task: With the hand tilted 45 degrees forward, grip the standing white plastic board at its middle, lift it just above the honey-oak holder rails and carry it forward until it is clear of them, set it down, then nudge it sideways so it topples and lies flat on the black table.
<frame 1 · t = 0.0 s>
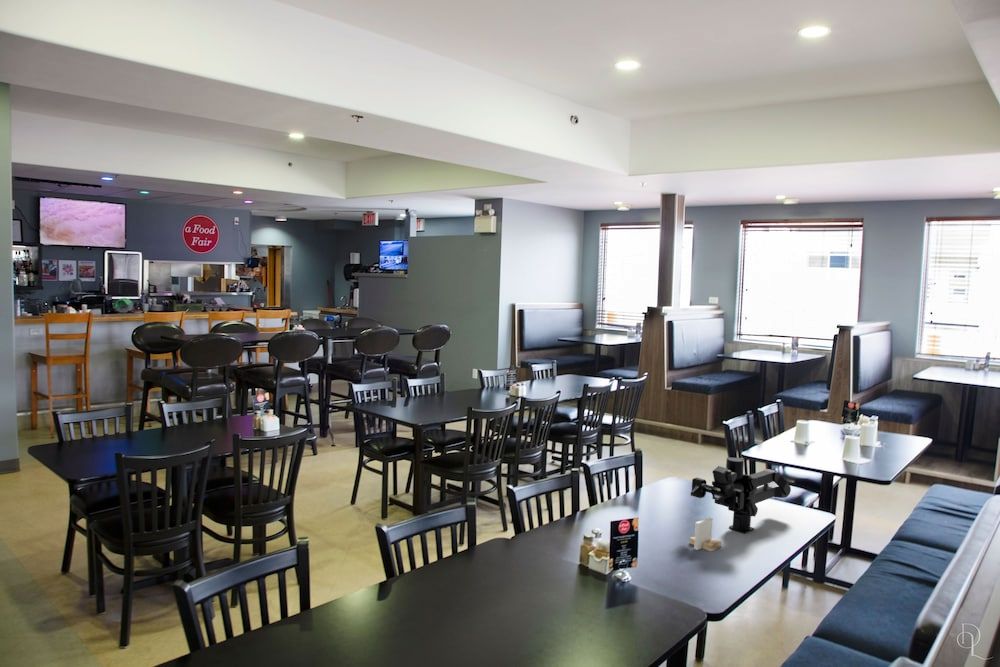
hand: (702, 497, 228), 16 cm above the table, tool horizontal, fingers open, 9 cm apart
oak holder: (705, 545, 230), on the table
white board: (702, 546, 229), on the table
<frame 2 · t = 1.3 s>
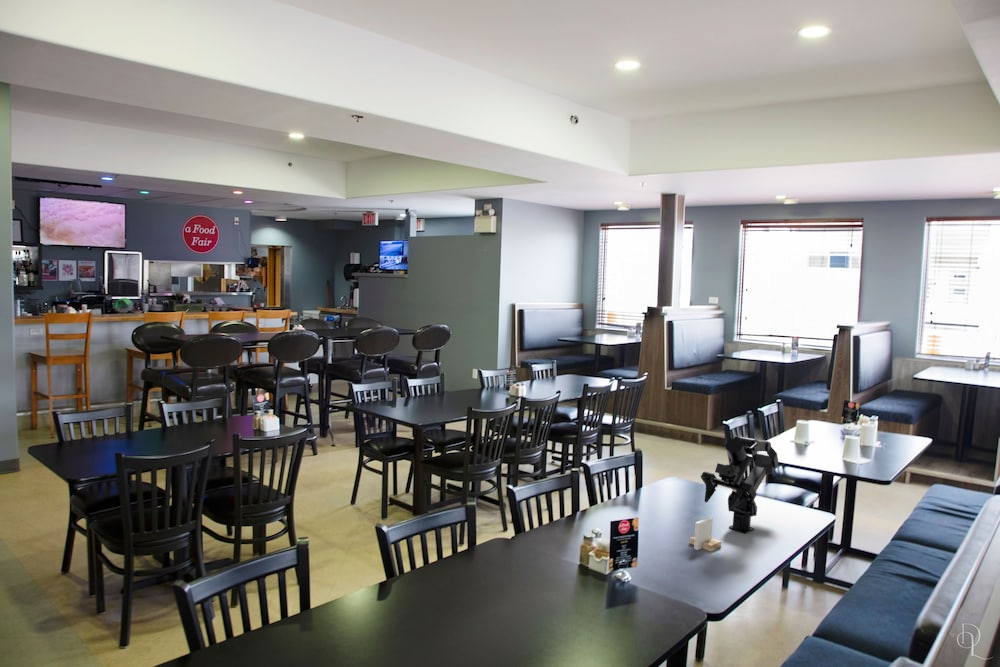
hand: (717, 505, 232), 13 cm above the table, tool tilted 45°, fingers open, 9 cm apart
nothing on the table moved.
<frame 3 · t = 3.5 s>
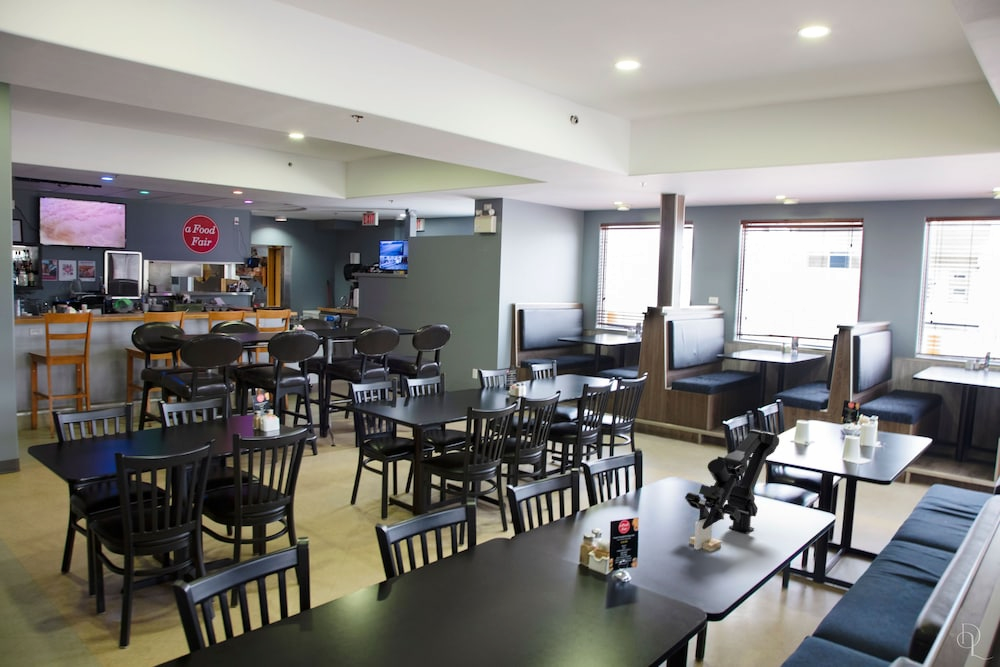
hand: (701, 527, 227), 7 cm above the table, tool tilted 45°, fingers closed on white board, 1 cm apart
white board: (702, 546, 229), on the table, touching gripper
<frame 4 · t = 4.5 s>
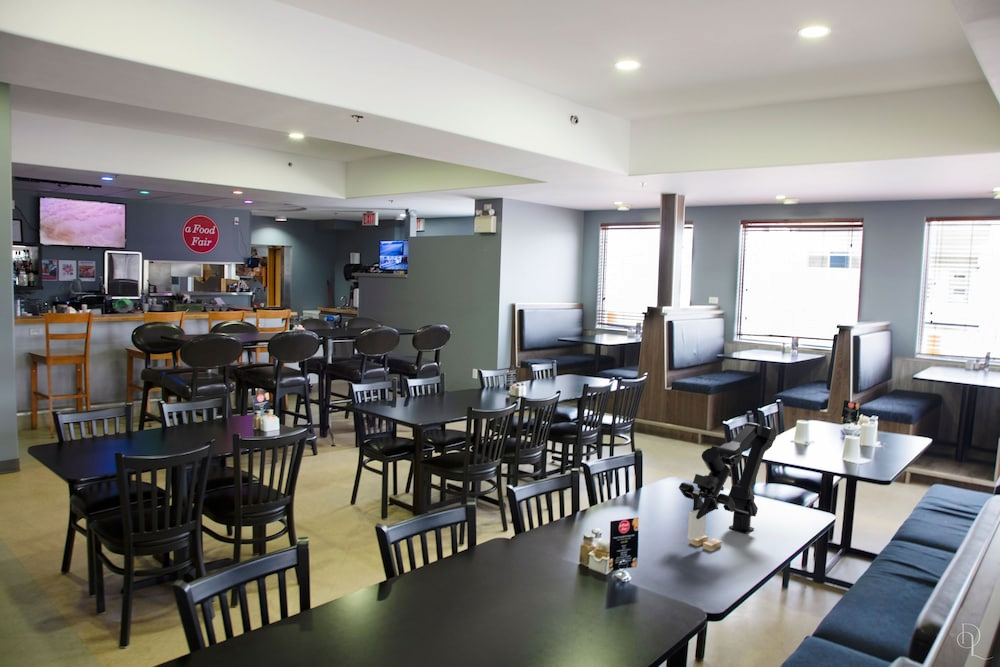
hand: (694, 517, 224), 11 cm above the table, tool tilted 45°, fingers closed on white board
white board: (696, 537, 226), point 4 cm above the table, touching gripper
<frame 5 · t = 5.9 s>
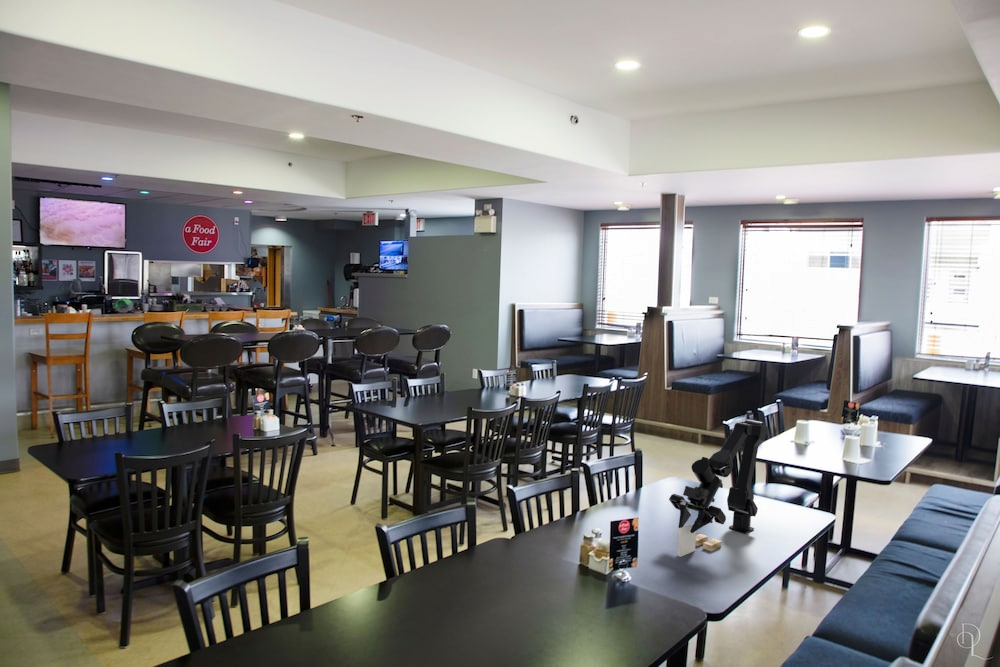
hand: (685, 530, 221), 8 cm above the table, tool tilted 45°, fingers open, 4 cm apart
white board: (686, 553, 223), on the table
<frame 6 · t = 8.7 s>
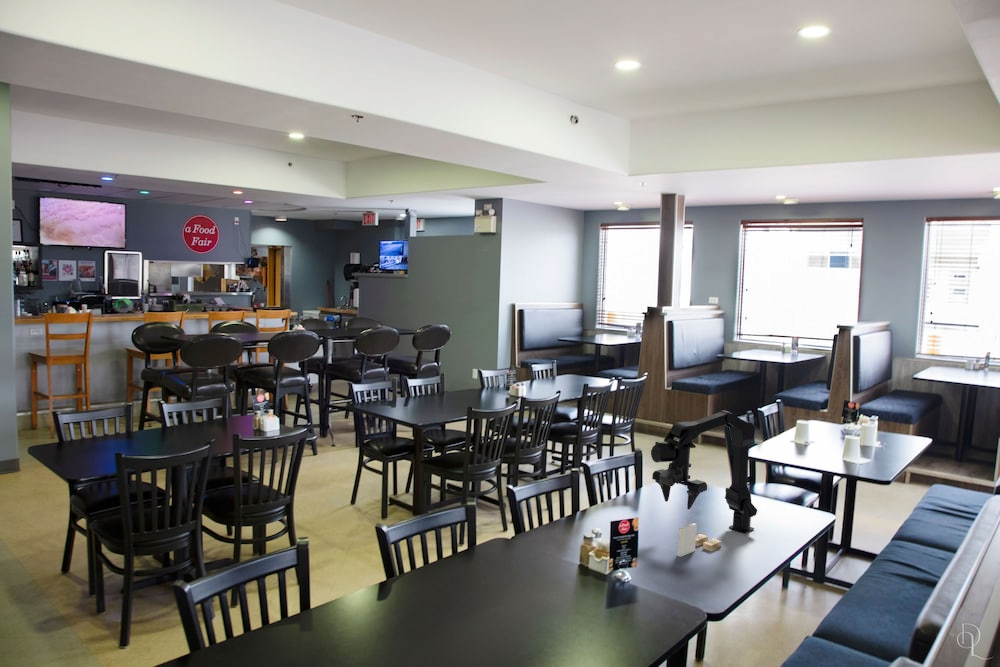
hand: (677, 505, 234), 11 cm above the table, tool pointing down, fingers open, 9 cm apart
nothing on the table moved.
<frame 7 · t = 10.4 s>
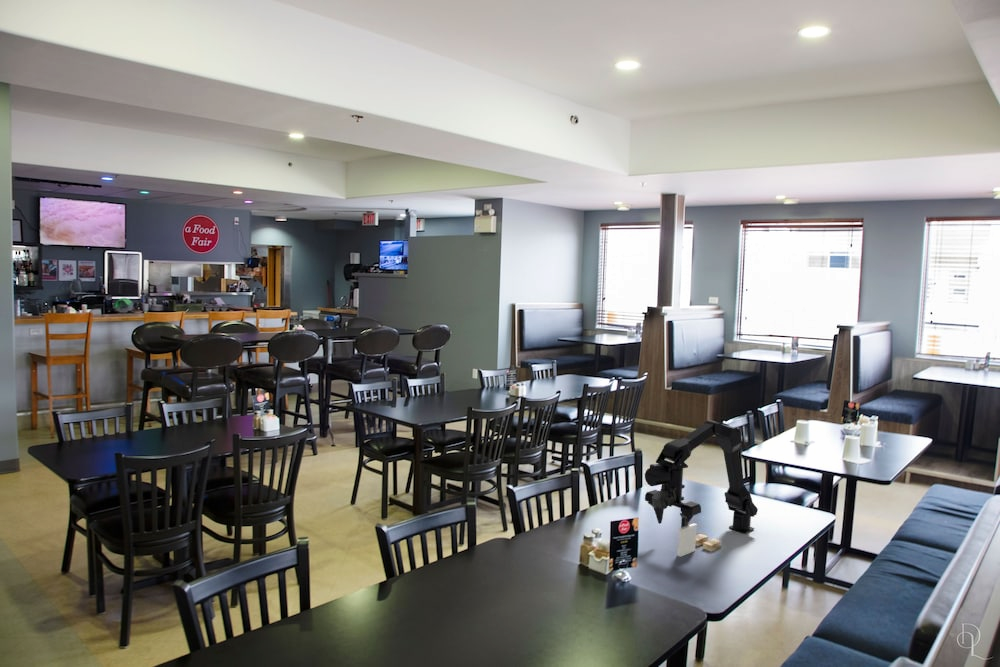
hand: (671, 527, 227), 6 cm above the table, tool pointing down, fingers open, 9 cm apart
white board: (686, 553, 223), on the table, touching gripper
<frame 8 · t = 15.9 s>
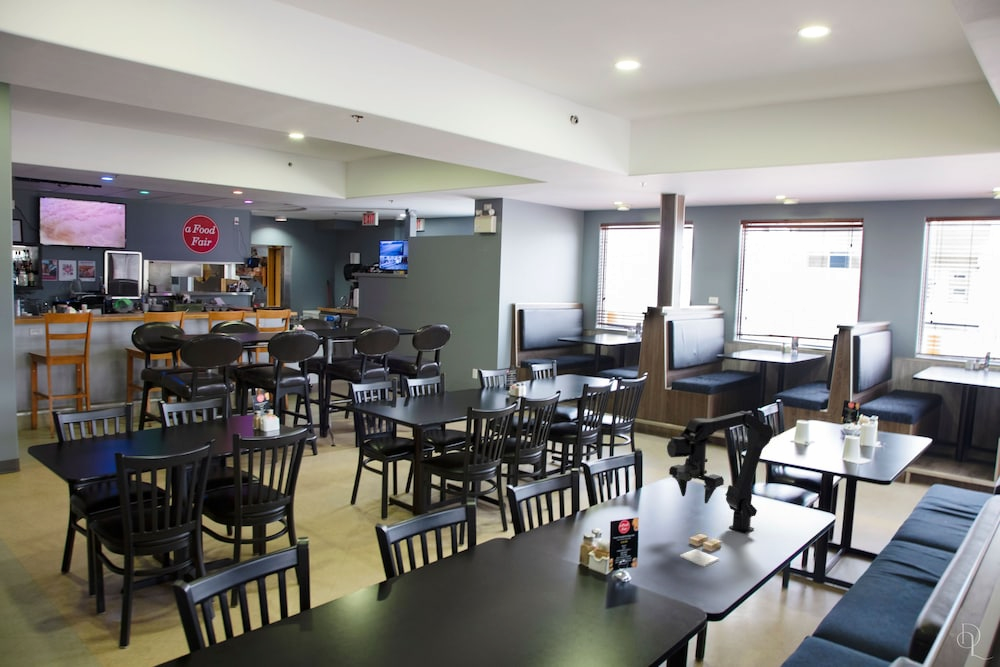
hand: (694, 499, 239), 12 cm above the table, tool pointing down, fingers open, 9 cm apart
white board: (687, 553, 222), on the table, tilted 90°
at the end: white board tilted 90°; white board inside the target area (7.3 cm from its centre), on the table; white board touching table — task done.
